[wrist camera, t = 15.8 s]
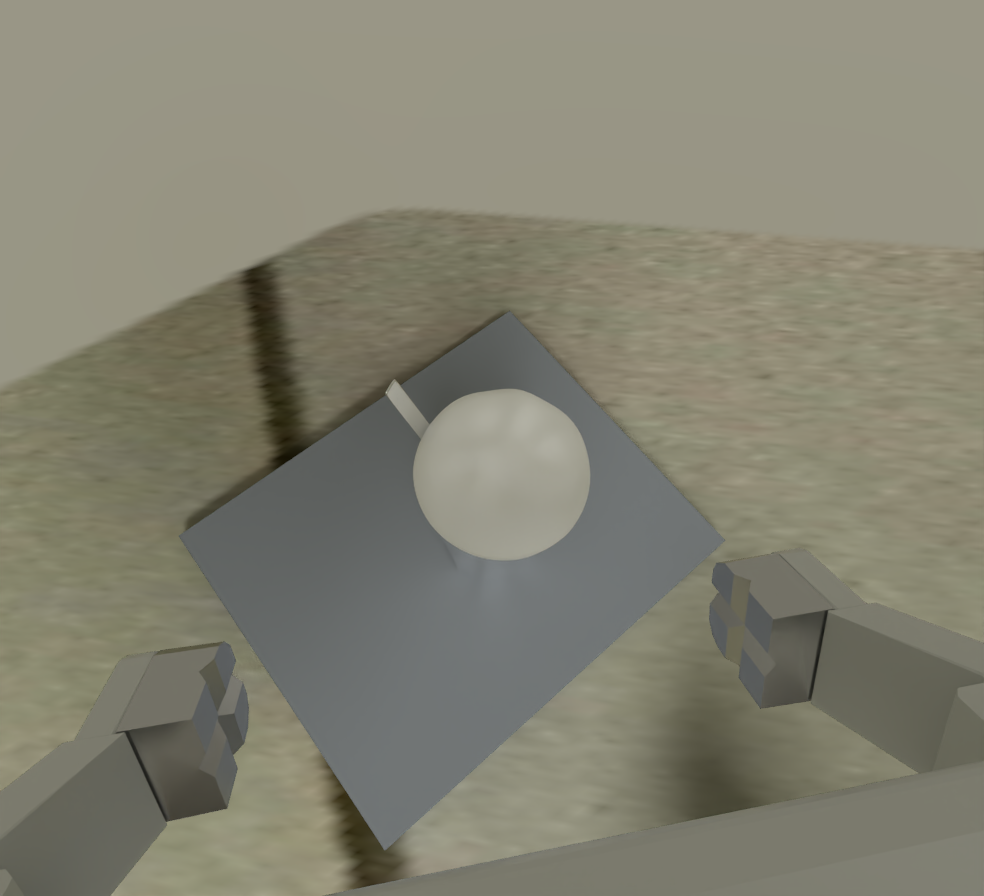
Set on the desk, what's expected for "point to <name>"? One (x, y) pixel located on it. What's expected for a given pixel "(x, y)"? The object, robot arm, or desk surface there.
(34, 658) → the desk surface
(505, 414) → the milkshake
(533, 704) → the rubber mat
